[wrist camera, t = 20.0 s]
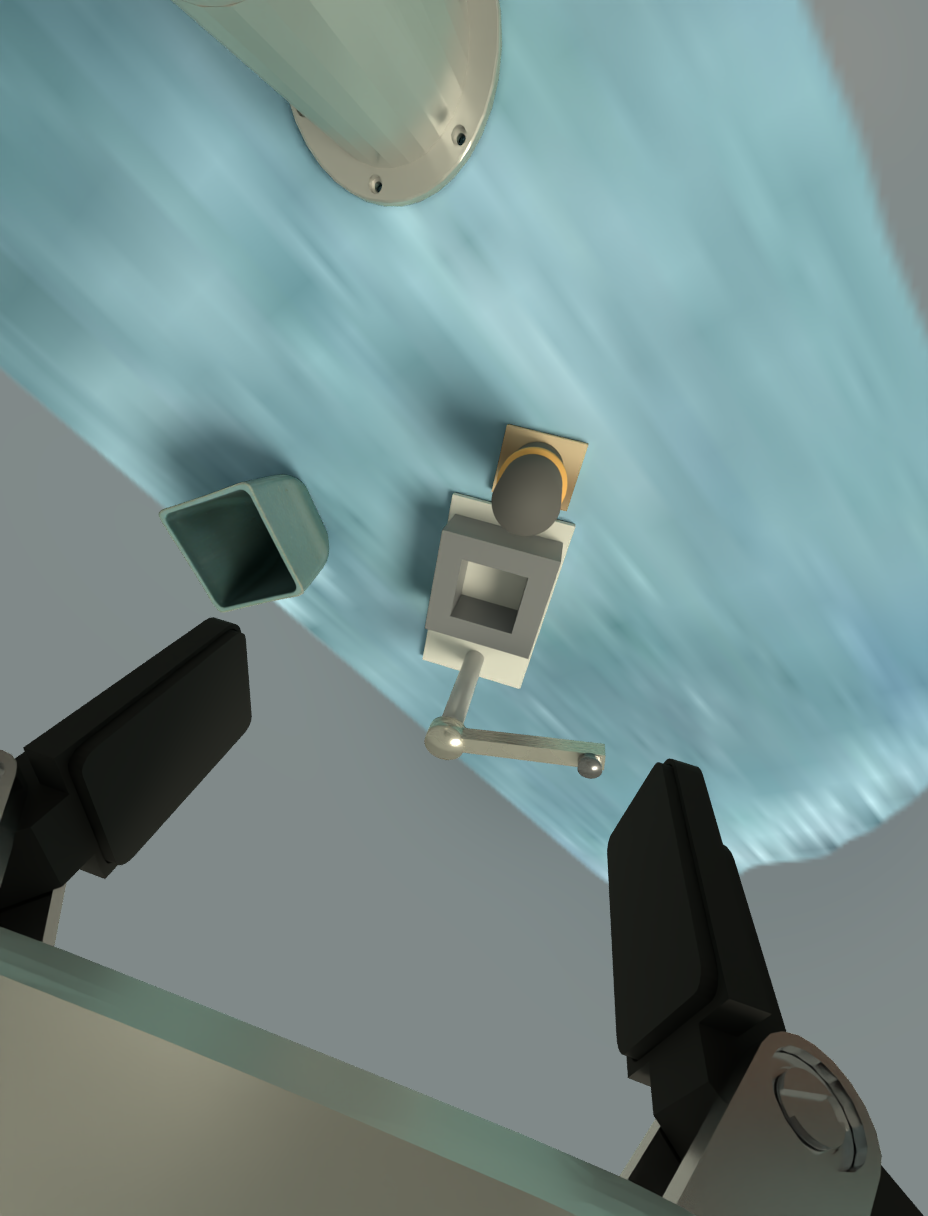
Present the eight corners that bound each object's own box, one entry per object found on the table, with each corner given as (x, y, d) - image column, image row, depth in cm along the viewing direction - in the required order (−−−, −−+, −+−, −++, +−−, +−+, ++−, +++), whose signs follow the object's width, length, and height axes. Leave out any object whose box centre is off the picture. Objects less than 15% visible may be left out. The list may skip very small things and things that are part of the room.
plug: (514, 429, 33) (497, 452, 25) (576, 446, 32) (578, 474, 25) (498, 491, 35) (478, 529, 27) (556, 507, 35) (552, 550, 27)
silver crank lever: (432, 743, 36) (424, 763, 34) (428, 714, 34) (419, 733, 33) (602, 764, 33) (603, 787, 31) (605, 733, 32) (606, 756, 30)
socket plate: (454, 492, 37) (414, 534, 28) (575, 524, 36) (573, 578, 27) (424, 655, 45) (386, 726, 37) (520, 685, 44) (505, 765, 36)
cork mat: (507, 423, 33) (506, 424, 33) (588, 443, 33) (588, 445, 32) (492, 489, 36) (491, 491, 35) (566, 509, 35) (566, 511, 35)
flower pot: (356, 551, 41) (304, 595, 34) (280, 570, 44) (217, 614, 37) (314, 455, 38) (246, 480, 30) (235, 482, 41) (154, 512, 33)
